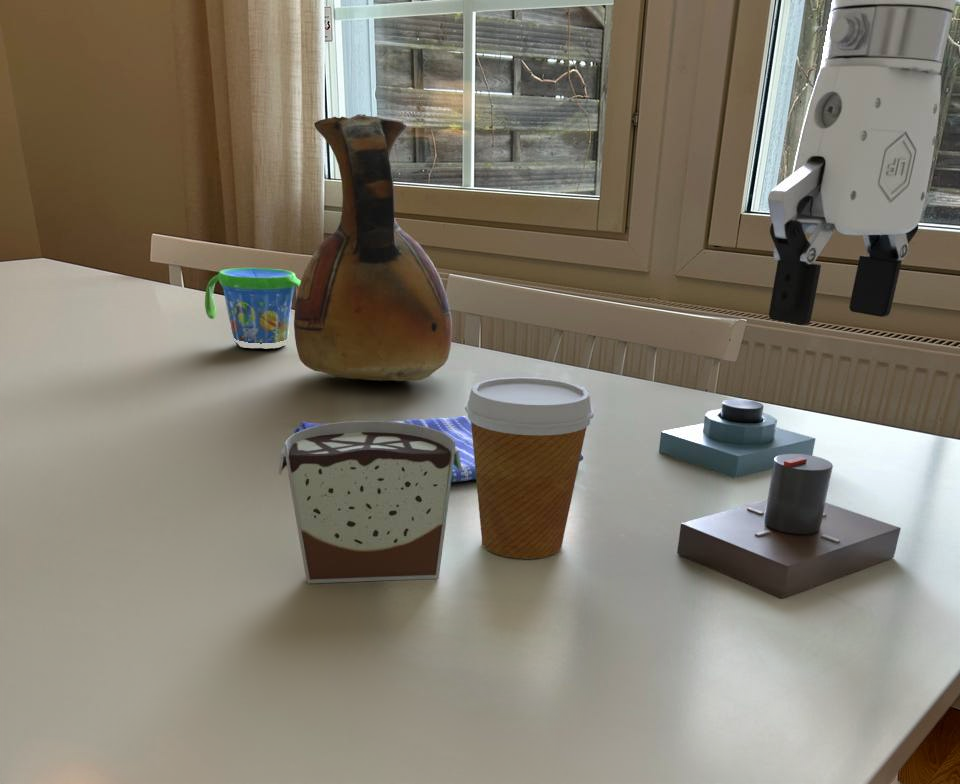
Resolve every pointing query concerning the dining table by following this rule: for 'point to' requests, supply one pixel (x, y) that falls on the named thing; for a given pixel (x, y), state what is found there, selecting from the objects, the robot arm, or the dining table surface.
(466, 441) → the dish towel
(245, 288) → the snack cup
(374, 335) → the ceramic pitcher
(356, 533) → the food container
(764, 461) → the button box
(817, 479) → the knob
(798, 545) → the knob panel
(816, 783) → the dining table surface
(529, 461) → the disposable coffee cup
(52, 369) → the dining table surface
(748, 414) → the button
